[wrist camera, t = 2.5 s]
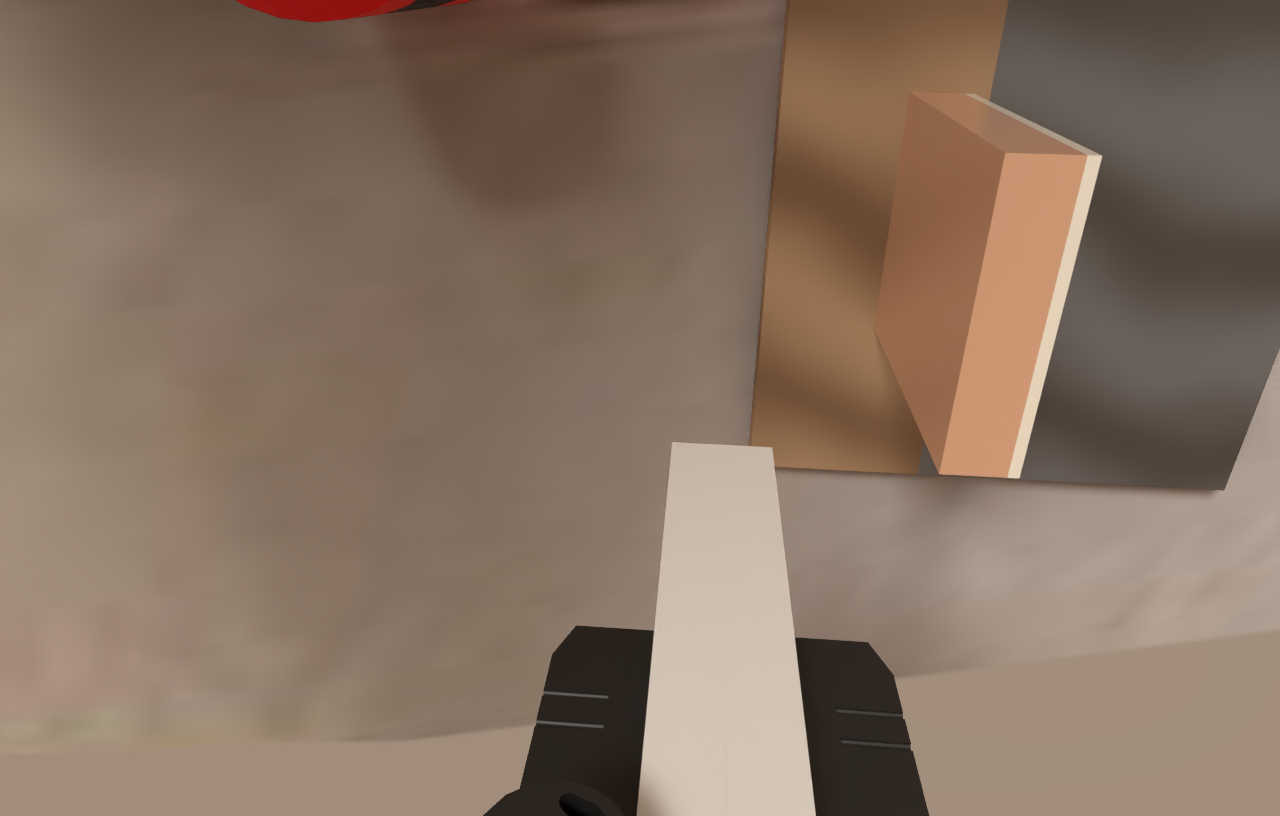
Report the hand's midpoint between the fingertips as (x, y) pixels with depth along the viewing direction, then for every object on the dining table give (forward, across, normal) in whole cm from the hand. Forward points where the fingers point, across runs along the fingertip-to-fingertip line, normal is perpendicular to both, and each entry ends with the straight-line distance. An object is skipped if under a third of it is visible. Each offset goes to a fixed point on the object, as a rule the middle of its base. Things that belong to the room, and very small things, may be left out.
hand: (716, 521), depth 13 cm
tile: (+18, +7, 0) cm, 19 cm away
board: (+19, +11, 0) cm, 22 cm away
